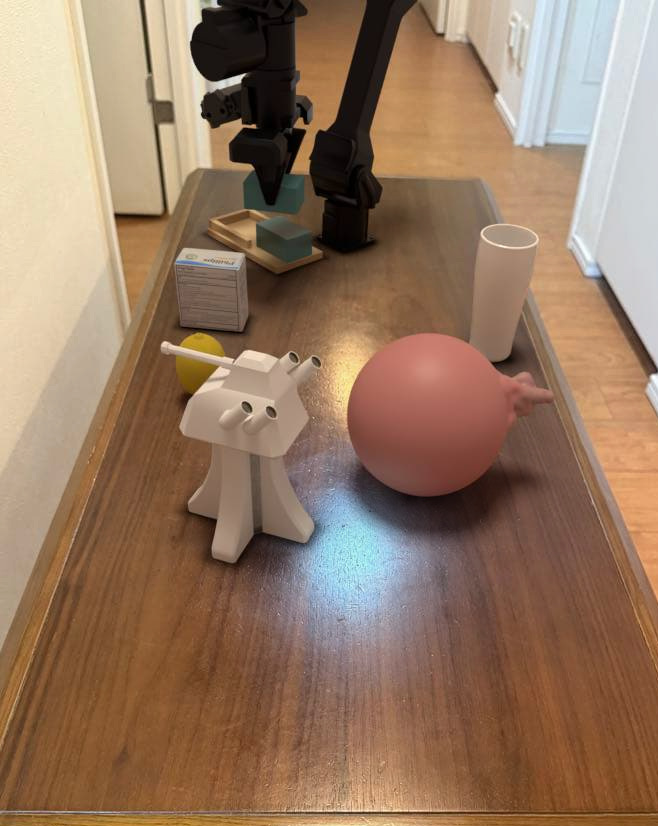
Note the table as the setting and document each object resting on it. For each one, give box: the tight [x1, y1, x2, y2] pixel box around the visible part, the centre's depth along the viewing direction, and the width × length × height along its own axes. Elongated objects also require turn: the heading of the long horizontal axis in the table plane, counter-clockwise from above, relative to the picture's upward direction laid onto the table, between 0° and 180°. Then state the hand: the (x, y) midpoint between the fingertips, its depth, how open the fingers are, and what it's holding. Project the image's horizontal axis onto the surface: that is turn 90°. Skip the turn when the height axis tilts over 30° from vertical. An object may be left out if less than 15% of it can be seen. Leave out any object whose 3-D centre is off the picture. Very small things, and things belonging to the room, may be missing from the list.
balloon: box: [346, 332, 556, 497], centre depth 80 cm, size 15×20×15 cm
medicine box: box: [173, 247, 250, 333], centre depth 103 cm, size 8×4×9 cm, turn 84°
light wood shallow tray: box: [206, 208, 324, 275], centre depth 121 cm, size 16×9×4 cm, turn 44°
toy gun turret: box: [160, 340, 323, 564], centre depth 73 cm, size 12×13×18 cm
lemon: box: [175, 332, 227, 396], centre depth 91 cm, size 6×6×8 cm
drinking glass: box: [468, 223, 540, 363], centre depth 99 cm, size 7×7×15 cm
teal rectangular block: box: [242, 169, 305, 216], centre depth 108 cm, size 7×5×3 cm, turn 80°
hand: (275, 197), depth 109 cm, fingers closed on teal rectangular block, 4 cm apart
